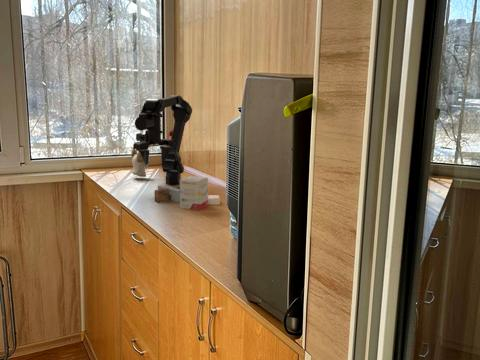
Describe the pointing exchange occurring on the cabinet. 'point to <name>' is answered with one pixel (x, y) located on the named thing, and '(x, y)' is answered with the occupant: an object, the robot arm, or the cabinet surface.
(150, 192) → the cabinet surface
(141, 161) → the ceramic sculpture
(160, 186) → the light blue block
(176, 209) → the cabinet surface
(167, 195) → the brown boxy piece
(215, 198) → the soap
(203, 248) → the cabinet surface
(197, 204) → the ink box
